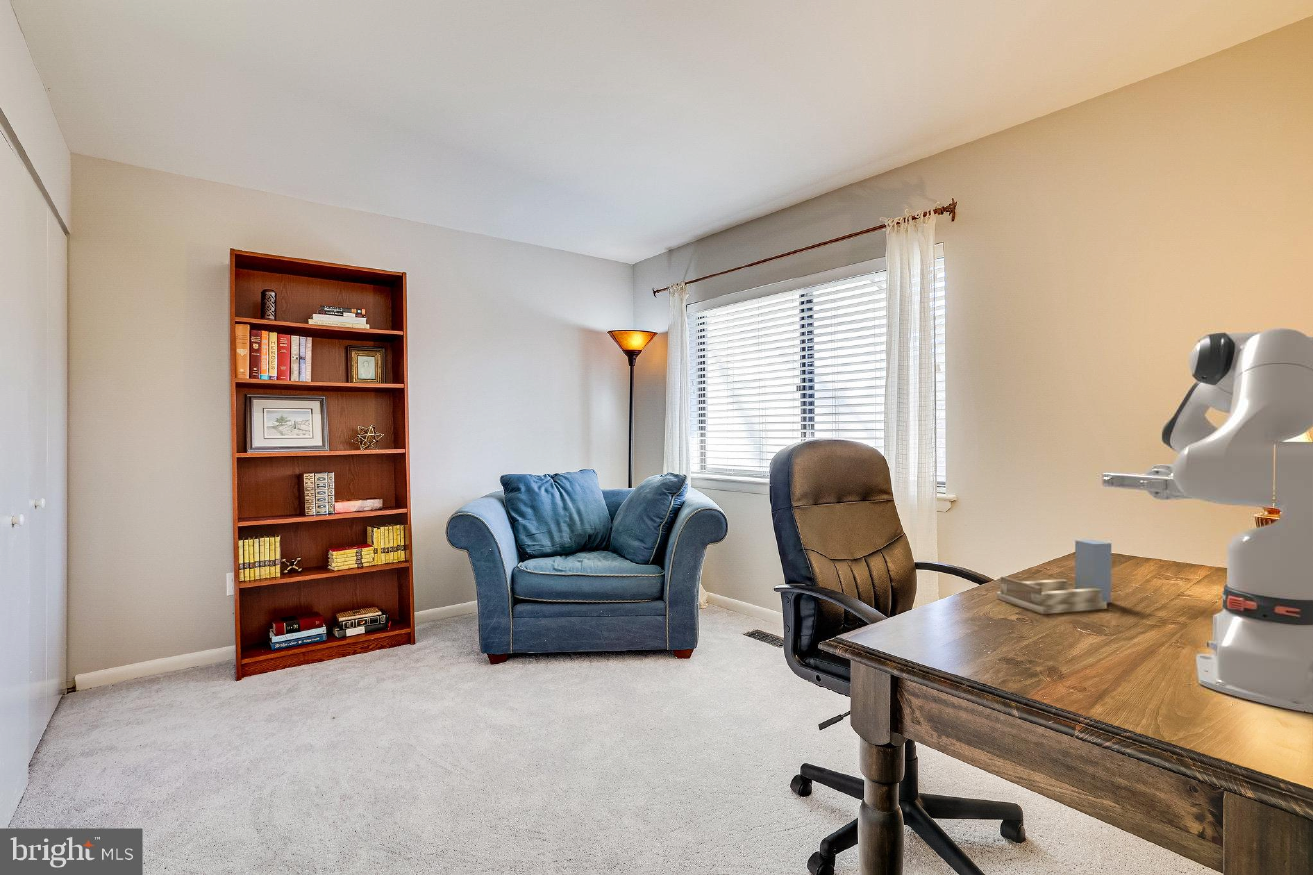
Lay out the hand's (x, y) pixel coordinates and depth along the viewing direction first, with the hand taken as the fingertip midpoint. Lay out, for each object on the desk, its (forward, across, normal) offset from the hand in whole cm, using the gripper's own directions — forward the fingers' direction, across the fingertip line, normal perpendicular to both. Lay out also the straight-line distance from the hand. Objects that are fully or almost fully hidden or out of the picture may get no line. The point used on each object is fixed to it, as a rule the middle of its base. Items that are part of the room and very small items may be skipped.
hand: (1123, 482), depth 151 cm
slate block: (+9, 0, +28) cm, 29 cm away
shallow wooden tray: (+22, 0, +28) cm, 35 cm away
